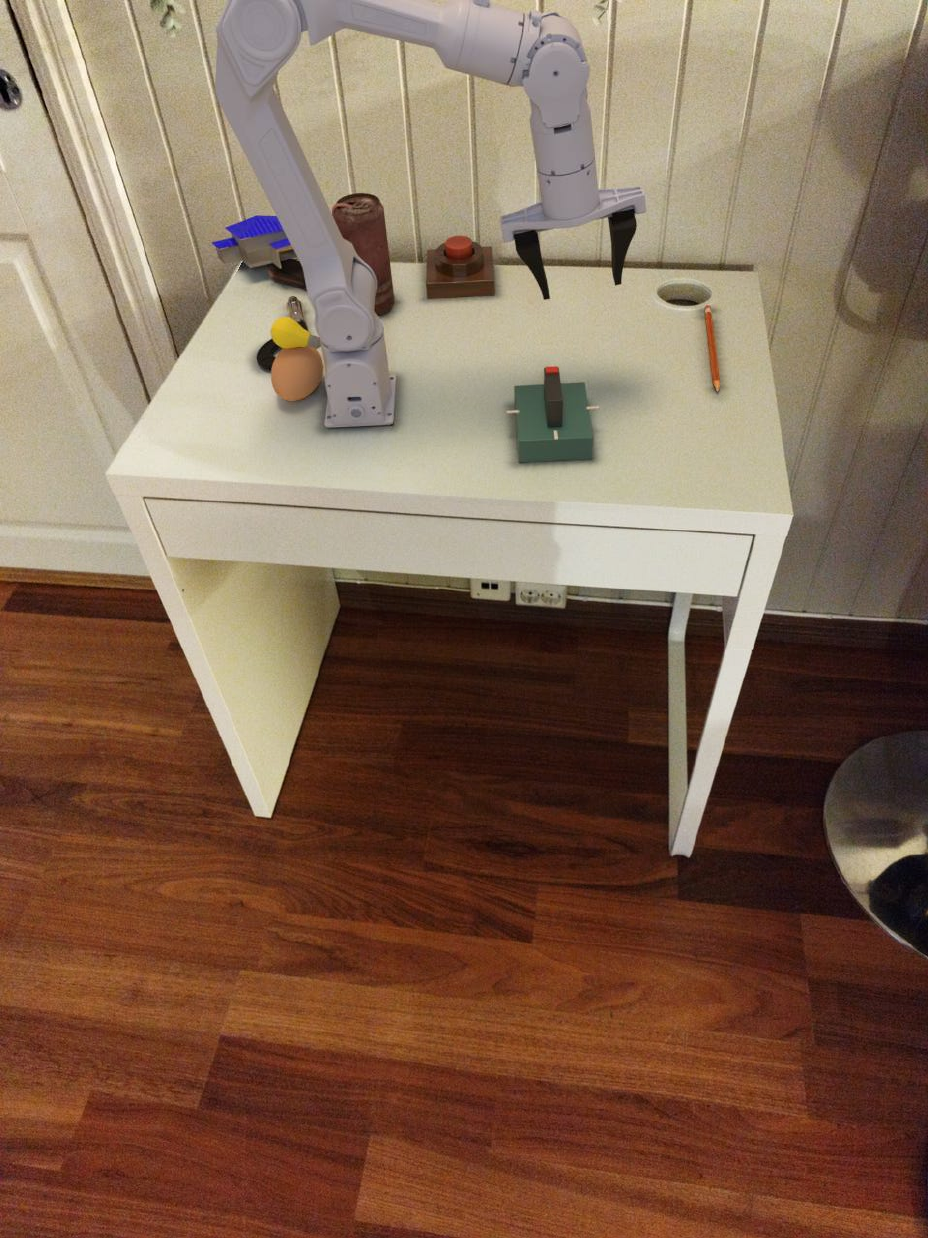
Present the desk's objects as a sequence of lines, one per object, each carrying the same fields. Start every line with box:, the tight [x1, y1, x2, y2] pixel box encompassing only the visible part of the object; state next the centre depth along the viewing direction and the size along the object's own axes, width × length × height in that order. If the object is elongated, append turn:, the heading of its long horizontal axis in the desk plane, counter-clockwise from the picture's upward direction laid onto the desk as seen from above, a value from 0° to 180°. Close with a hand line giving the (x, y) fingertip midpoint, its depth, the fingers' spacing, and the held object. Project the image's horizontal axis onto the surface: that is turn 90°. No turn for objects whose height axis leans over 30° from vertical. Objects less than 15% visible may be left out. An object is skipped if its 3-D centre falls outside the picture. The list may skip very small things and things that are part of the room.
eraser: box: [268, 258, 307, 290], centre depth 129 cm, size 11×4×2 cm, turn 61°
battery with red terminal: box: [543, 365, 563, 427], centre depth 102 cm, size 6×2×4 cm, turn 1°
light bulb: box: [270, 316, 321, 350], centre depth 108 cm, size 3×6×4 cm
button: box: [444, 235, 473, 260], centre depth 125 cm, size 4×4×2 cm
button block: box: [425, 240, 496, 299], centre depth 127 cm, size 9×9×4 cm
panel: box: [506, 381, 600, 463], centre depth 105 cm, size 10×10×3 cm
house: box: [211, 215, 298, 269], centre depth 130 cm, size 11×14×6 cm
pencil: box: [704, 304, 721, 392], centre depth 114 cm, size 1×18×1 cm, turn 174°
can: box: [331, 192, 395, 317], centre depth 120 cm, size 6×6×14 cm
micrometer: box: [256, 295, 309, 370], centre depth 120 cm, size 15×7×2 cm, turn 14°
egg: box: [270, 346, 324, 402], centre depth 111 cm, size 6×6×8 cm
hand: (581, 287), depth 101 cm, fingers open, 7 cm apart
